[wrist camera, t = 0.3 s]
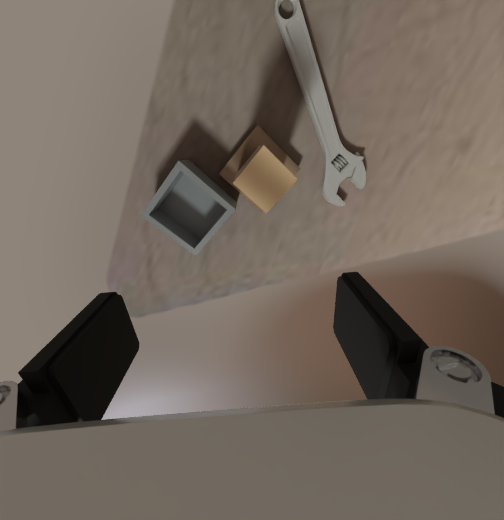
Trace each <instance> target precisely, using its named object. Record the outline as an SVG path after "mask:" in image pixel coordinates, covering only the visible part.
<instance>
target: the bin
mask: <svg viewBox="0 0 504 520" xmlns="http://www.w3.org/2000/svg"><path fill="white" fill-rule="evenodd" d="M236 205H237V201H236V200H235V199H233V198H232V197H231V196H230V195H229V194H228V193H226V192H225V191H224V190H223V189H222V188H221V187H220V186H218V185H217V184H216V183H215V182H214V181H213V180H212V179H210V178H209V177H208V176H207V175H206V174H205V173H204V172H202V171H201V170H200V169H199V168H198V167H197V166H195V165H194V164H193V163H192V162H191V161H190V160H189V159H185V160H179V161H178V162H177V164H176V165H175V166H174V168H173V169H172V171H171V172H170V174H169V175H168V176H167V178H166V179H165V181H164V182H163V184H162V185H161V187H160V188H159V189H158V191H157V192H156V194H155V195H154V197H153V198H152V199H151V201H150V202H149V204H148V205H147V207H146V208H145V210H144V211H143V212H142V214H141V215H140V216H142V217H143V218H144V219H146V220H147V221H149V222H150V223H151V224H153V225H154V226H155V227H157V228H158V229H159V230H161V231H162V232H164V233H165V234H166V235H168V236H169V237H170V238H172V239H173V240H175V241H176V242H177V243H179V244H180V245H181V246H183V247H184V248H186V249H187V250H188V251H190V252H191V253H192V254H194V255H195V256H196V255H197V254H198V253H199V252H200V250H201V249H202V248H203V247H204V246H205V245H206V243H207V242H208V241H209V240H210V239H211V238H212V236H213V235H214V234H215V233H216V232H217V231H218V229H219V228H220V227H221V226H222V225H223V224H224V222H225V221H226V220H227V219H228V218H229V217H230V215H231V214H232V213H233V212H234V211H235V210H236Z"/></svg>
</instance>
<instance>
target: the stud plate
mask: <svg viewBox="0 0 504 520" xmlns="http://www.w3.org/2000/svg"><path fill="white" fill-rule="evenodd" d="M262 145H264V146H265V147H266V148H267V149H268V150H269V151H270V152H271V153H272V154H273V155H274V156H275V157H276V158H277V159H278V160H279V161H280V162H281V163H282V164H283V165H284V166H285V167H286V168H287V169H288V170H289V171H290V172H291V173H292V174H293V175H295V174H296V173H297V172H298V171H299V170H300V168H299V167H298V166H297V165H296V164H295V163H294V162H293V161H292V160H291V159H290V157H289V156H288V155H287V154H286V153H285V152H284V151H283V150H282V149H281V148H280V147H279V146H278V145H277V144H276V143H275V142H274V141H273V140H272V139H271V138H270V137H269V136H268V135H267V134H266V133H265V132H264V131H263V130H262V128H261V127H260V126H259V125H258V124H257V126H256V127H255V128H254V129H253V131H252V132H251V133H250V135H249V136H248V137H247V138H246V140H245V141H244V142H243V144H242V145H241V146H240V147H239V149H238V150H237V151H236V153H235V154H234V155H233V156H232V158H231V159H230V160H229V162H228V163H227V164H226V165H225V167H224V168H223V169H222V171H221V172H220V173H219V175H220V176H221V177H223V178H224V179H225V180H226V181H227V182H228V183H229V184H230V185H232V186H233V187H234V188H235V189H236V190H237V191H238V192H239V193H241V194H242V195H243V196H244V197H245V198H246V199H247V200H248V201H250V202H251V203H252V204H253V205H254V206H255V207H256V208H257V209H259V210H260V211H261V212H262V209H261V208H260V207H259V206H257V205H256V204H255V203H254V202H253V201H252V200H251V199H250V198H248V197H247V196H246V195H245V194H244V193H243V192H242V191H241V190H240V189H238V188H237V187H236V186H235V185H234V184H233V181H234V179H235V177H236V174H237V172H238V171H239V170H240V169H241V167H242V166H243V165H244V164H245V162H246V161H247V160H248V159H249V157H250V156H251V155H252V154H253V153H254V151H255V150H256V149H257V148H258V146H262Z"/></svg>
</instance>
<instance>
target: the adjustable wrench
mask: <svg viewBox="0 0 504 520" xmlns="http://www.w3.org/2000/svg"><path fill="white" fill-rule="evenodd" d="M282 1H283V0H276V4H275V18H276V21H277V23H278V26H279V29H280V32H281V35H282V37H283V40H284V43H285V46H286V48H287V51H288V54H289V57H290V60H291V62H292V65H293V68H294V71H295V73H296V76H297V79H298V82H299V85H300V87H301V90H302V93H303V96H304V99H305V101H306V104H307V107H308V110H309V112H310V115H311V118H312V121H313V124H314V126H315V129H316V132H317V135H318V137H319V140H320V143H321V146H322V150H323V158H324V159H323V176H322V183H321V191H322V194H323V196H324V198H325V199H326V200H327V201H328V202H330V203H332V204H334V205H336V206H345V205H346V203H345V202H344V201H343V200H342V199H341V198H340V197H339V196H338V195H337V191H338V187H339V184H340V183H341V182H342V181H343V180H344V179H345V178H347V177H348V178H349V179H350V181H351V182H352V183H353V184H354V185H355V186H356V187H357V188H358V189H361V190H362V189H363V188H364V186H365V181H366V171H365V167H364V164H363V162H362V160H363V159H364V157H363V156H360V154H359V153H358V152H355V154H354V155H353V154H352V153H350V152H349V151H347V150H346V149H345V148H344V147H343V145H342V143H341V141H340V139H339V136H338V132H337V129H336V126H335V122H334V119H333V115H332V112H331V108H330V105H329V102H328V98H327V95H326V91H325V88H324V84H323V81H322V78H321V74H320V71H319V67H318V64H317V61H316V57H315V54H314V50H313V47H312V43H311V40H310V37H309V33H308V30H307V26H306V23H305V19H304V16H303V13H302V9H301V6H300V2H299V0H290V1H291V2H292V3H293V6H294V11H293V14H292V16H291V17H290V18H288V19H284V18H282V17H281V15H280V13H279V6H280V4H281V2H282ZM338 154H339V155H340V156H337V155H338ZM335 157H336V158H335ZM334 158H335V159H334ZM333 159H334V160H335V161H333ZM331 162H332V163H333V164H332V163H331ZM344 163H345V164H344ZM339 168H340V169H339Z"/></svg>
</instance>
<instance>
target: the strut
mask: <svg viewBox="0 0 504 520" xmlns="http://www.w3.org/2000/svg"><path fill="white" fill-rule="evenodd" d="M296 180H297V178H296V177H295V176H294V175H293V174H292V173H291V172H290V171H289V170H288V169H287V168H286V167H285V166H284V165H283V164H282V163H281V162H280V161H279V160H278V159H277V158H276V157H275V156H274V155H273V154H272V153H271V152H270V151H269V150H268V149H267V148H266V147H265V146H264V145H262V146H258V148H257V149H256V150H255V151H254V153H253V154H252V155H251V156H250V157H249V159H248V160H247V161H246V162H245V164H244V165H243V166H242V167H241V169H240V170H239V171H238V172H237V174H236V177H235V179H234V181H233V184H234V185H235V186H236V187H237V188H238V189H240V190H241V191H242V192H243V193H244V194H245V195H246V196H247V197H248V198H250V199H251V200H252V201H253V202H254V203H255V204H256V205H257V206H259V207H260V208H261V209H262V210H263V211H264V212H265V213H267V212H268V211H269V210H270V209H271V208H272V207H273V205H274V204H275V203H276V202H277V201H278V200H279V199H280V198H281V197H282V196H283V195H284V193H285V192H286V191H287V190H288V189H289V188H290V187H291V186H292V185H293V184H294V183H295V182H296Z"/></svg>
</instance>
